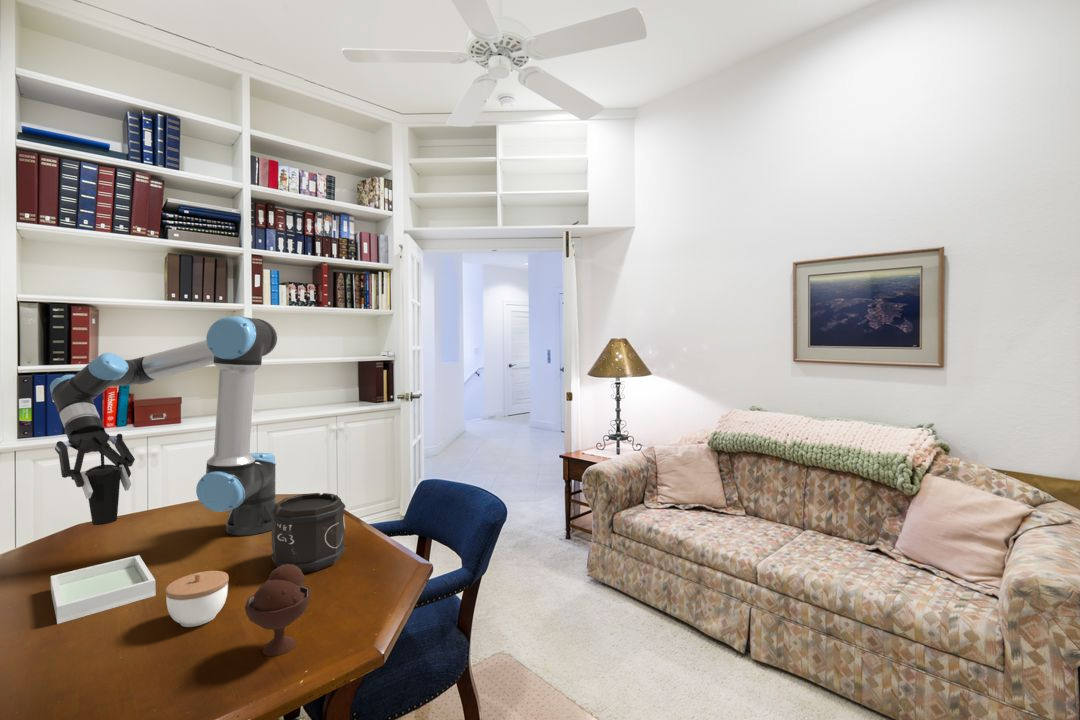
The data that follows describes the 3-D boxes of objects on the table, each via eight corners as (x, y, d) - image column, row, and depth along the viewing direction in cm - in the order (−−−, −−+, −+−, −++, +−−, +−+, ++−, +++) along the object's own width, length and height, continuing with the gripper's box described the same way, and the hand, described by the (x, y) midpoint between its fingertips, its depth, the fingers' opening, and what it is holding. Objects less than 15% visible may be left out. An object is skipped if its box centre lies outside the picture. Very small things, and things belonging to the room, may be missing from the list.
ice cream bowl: (261, 632, 98) (260, 557, 98) (320, 630, 99) (319, 555, 99) (233, 666, 88) (232, 582, 87) (299, 663, 89) (298, 580, 88)
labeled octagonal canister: (348, 543, 143) (347, 488, 143) (343, 569, 126) (343, 507, 126) (278, 550, 138) (277, 494, 137) (263, 579, 121) (263, 515, 120)
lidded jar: (240, 607, 108) (240, 564, 108) (202, 635, 97) (201, 587, 97) (194, 604, 109) (194, 561, 109) (152, 632, 98) (151, 585, 98)
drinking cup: (131, 518, 132) (128, 443, 132) (97, 528, 125) (94, 449, 124) (112, 515, 135) (109, 441, 134) (77, 525, 127) (74, 447, 127)
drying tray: (50, 591, 115) (50, 576, 115) (139, 568, 126) (139, 555, 126) (57, 624, 101) (56, 607, 101) (155, 595, 113) (155, 580, 113)
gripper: (124, 427, 146) (151, 490, 138) (28, 438, 128) (53, 511, 121) (131, 410, 143) (159, 473, 135) (34, 419, 126) (60, 492, 118)
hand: (109, 491), depth 128 cm, fingers closed on drinking cup, 7 cm apart
